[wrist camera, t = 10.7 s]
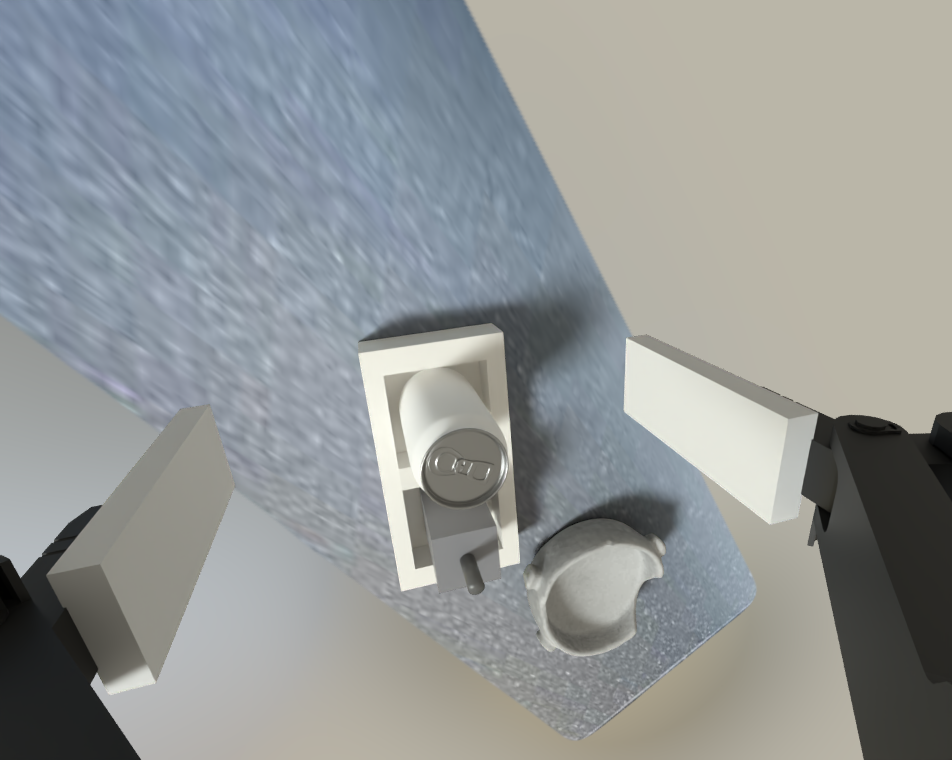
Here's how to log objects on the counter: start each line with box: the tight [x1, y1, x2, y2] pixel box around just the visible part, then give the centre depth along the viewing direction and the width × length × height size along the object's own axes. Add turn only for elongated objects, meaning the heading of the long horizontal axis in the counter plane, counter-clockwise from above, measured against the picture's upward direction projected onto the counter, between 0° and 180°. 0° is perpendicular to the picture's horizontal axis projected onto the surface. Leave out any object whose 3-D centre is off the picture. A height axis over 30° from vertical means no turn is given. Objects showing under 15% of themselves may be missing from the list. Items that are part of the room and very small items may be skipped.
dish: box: [523, 518, 666, 656], centre depth 49 cm, size 14×14×5 cm
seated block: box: [419, 487, 501, 595], centre depth 39 cm, size 5×5×11 cm
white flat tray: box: [358, 323, 520, 591], centre depth 42 cm, size 22×11×4 cm, turn 5°
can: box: [399, 367, 509, 510], centre depth 35 cm, size 6×6×12 cm
